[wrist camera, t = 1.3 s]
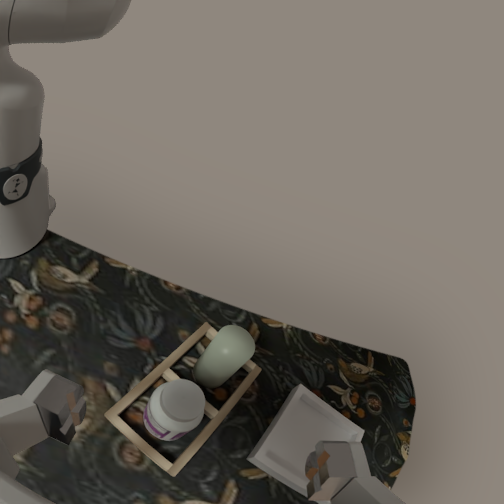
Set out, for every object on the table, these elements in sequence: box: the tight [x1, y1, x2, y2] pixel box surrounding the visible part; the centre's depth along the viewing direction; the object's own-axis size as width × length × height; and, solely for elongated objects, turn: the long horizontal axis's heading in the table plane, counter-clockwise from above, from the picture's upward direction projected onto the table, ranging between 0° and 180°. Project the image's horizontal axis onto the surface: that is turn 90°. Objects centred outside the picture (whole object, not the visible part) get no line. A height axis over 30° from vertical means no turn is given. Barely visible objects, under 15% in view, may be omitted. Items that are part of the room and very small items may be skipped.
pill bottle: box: [143, 379, 205, 441], centre depth 27 cm, size 5×5×10 cm
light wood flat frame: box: [105, 322, 262, 476], centre depth 33 cm, size 10×19×1 cm, turn 147°
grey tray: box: [247, 384, 364, 504], centre depth 33 cm, size 13×13×2 cm
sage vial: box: [193, 325, 255, 388], centre depth 34 cm, size 4×4×9 cm
